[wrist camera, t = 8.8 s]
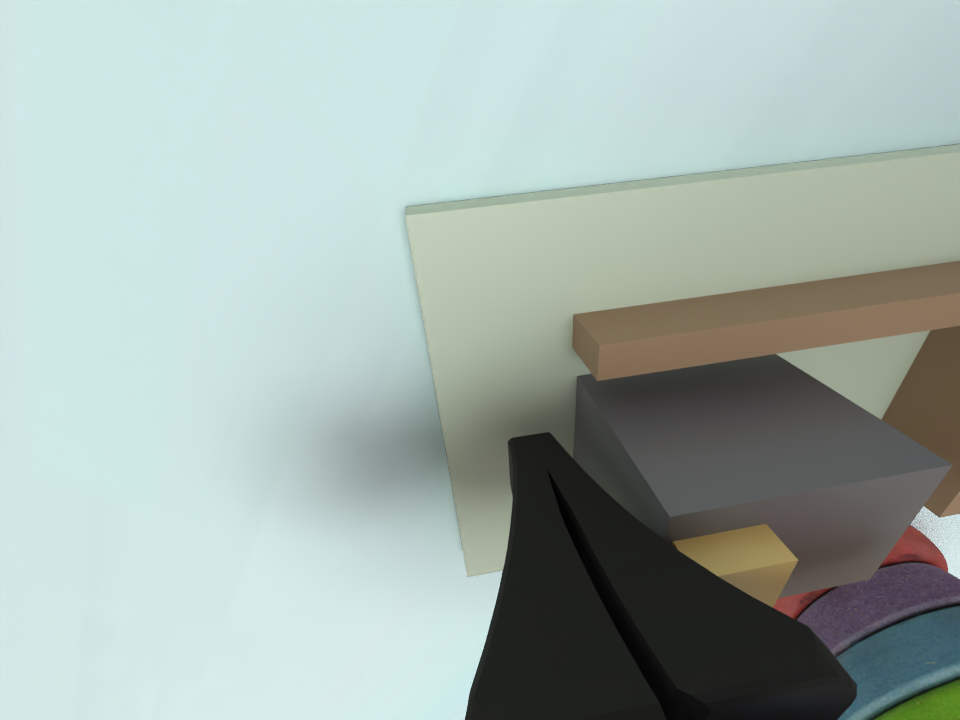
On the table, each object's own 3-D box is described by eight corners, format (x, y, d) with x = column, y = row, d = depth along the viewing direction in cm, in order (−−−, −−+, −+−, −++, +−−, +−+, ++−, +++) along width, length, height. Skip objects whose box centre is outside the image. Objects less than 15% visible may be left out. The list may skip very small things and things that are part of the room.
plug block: (765, 347, 12) (1003, 496, 7) (734, 444, 14) (903, 611, 9) (576, 376, 12) (695, 555, 7) (572, 472, 14) (660, 664, 9)
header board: (1039, 135, 11) (1521, 141, 6) (848, 480, 19) (1007, 609, 14) (406, 207, 10) (397, 286, 5) (464, 550, 17) (484, 722, 12)
